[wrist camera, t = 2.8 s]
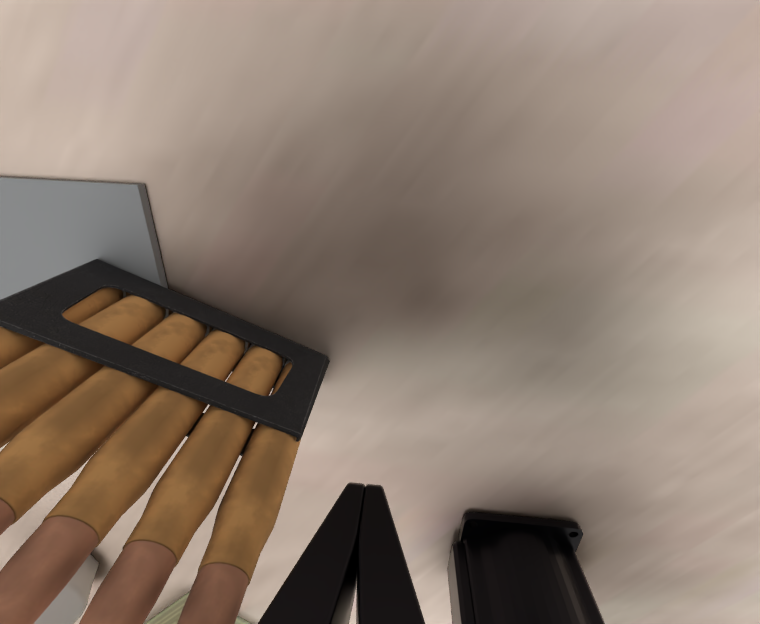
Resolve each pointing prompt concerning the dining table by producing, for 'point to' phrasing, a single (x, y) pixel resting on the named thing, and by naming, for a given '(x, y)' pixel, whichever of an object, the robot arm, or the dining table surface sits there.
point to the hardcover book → (178, 614)
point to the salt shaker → (71, 596)
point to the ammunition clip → (142, 439)
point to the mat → (73, 230)
